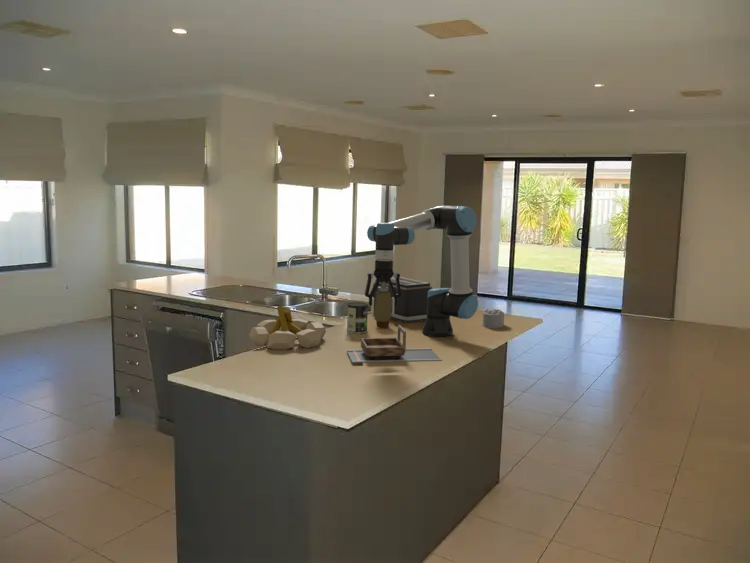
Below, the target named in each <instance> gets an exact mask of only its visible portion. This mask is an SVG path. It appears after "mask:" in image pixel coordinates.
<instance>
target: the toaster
mask: <svg viewBox="0 0 750 563" xmlns="http://www.w3.org/2000/svg"><path fill="white" fill-rule="evenodd" d="M390 280H391V282H392V285H393V287H394V290H395V292H396V294H397V287H396V280H395V278H394V276H392V278H391V279H390ZM399 282H400V289H401V297H398V298H397V305H396V306H394V314H392V313H391V316H390V319H392V320H396V321H399V322H401V323H417V322H418V323H419V322H425V321H426V318H427V296H428V291H429V290H430V289H433V286H431V282H425V281H422V280H419V279H417V280H416V279H411V278H408V277H403V276H400V278H399ZM380 285H381V282H380V283H379V284H378V286H377V289H376V291H375V293H376V292H378V287H380ZM373 286H374V283H372V287H373ZM386 287H389V284H388V282H386ZM388 292H390V293H391V301H392V297H393V294H392V292H391V289H390V287H389V291H388ZM375 293H374V295H373V298H374V300H375ZM393 298H394V297H393Z"/></svg>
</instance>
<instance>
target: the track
mask: <svg viewBox="0 0 750 563" xmlns="http://www.w3.org/2000/svg"><path fill="white" fill-rule="evenodd" d="M347 353H348V354H347ZM346 354H347V356H348V358H349V361H350V360H351V361H350V363H351V362H352V363H351V365H352V364H363V365H364V363H390V362H392V363H393V362H395V363H396V362H400V363H401V362H429V361H430V362H432V361H433V362H434V361H435V362H437V361H440V362H442V361H443V359H442V358H440V356H439V355H437V353H436V352H434V350H433V349H432V348H429V347H428V348H406V350H405V353H404V356H400V359H396V358H395V357H394V356H375V358H374V359H373V360H370V359H369V357H368V356H366V355H365V353H364V351H363V349H347V350H346Z"/></svg>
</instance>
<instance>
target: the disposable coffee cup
mask: <svg viewBox="0 0 750 563" xmlns="http://www.w3.org/2000/svg"><path fill="white" fill-rule="evenodd" d="M390 320H391V318H390V319H389V321H385V322H381V321H376V320H375V321H376V327H377V328H379V329H387V328H389V327H390Z"/></svg>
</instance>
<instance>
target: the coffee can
mask: <svg viewBox="0 0 750 563" xmlns="http://www.w3.org/2000/svg"><path fill="white" fill-rule="evenodd" d="M346 304H347V311H346V312H347V321H346V322H347V323H346V324H347V325H346V328H347V329H346V331H347V333H349V334H354V335H355V334H356V335H361V334H366V333H368V309H369V308H368V306H369V303H365V302H354V301H353V302H349V303H346Z"/></svg>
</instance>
